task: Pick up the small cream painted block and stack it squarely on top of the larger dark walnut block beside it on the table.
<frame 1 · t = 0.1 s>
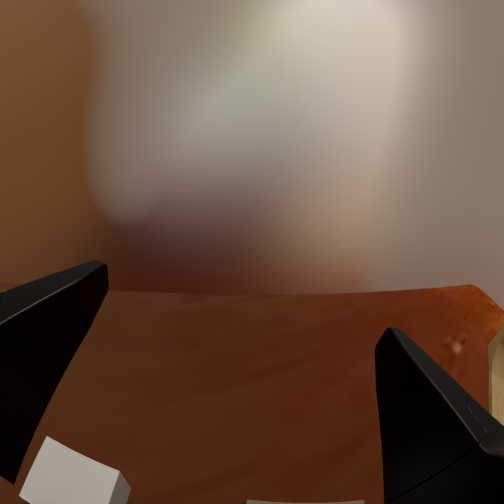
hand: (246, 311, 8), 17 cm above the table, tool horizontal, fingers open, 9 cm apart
cream block: (89, 501, 11), on the table
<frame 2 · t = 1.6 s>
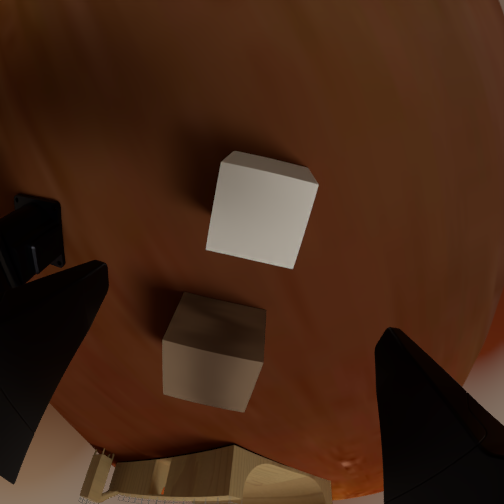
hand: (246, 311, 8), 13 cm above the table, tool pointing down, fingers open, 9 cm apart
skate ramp: (205, 474, 47), on the table
cream block: (262, 193, 20), on the table
walnut block: (219, 330, 25), on the table
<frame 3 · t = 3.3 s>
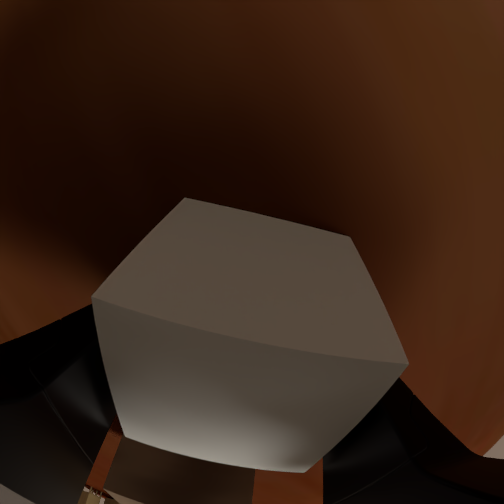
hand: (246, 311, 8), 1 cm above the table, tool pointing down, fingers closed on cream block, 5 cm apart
cream block: (250, 287, 9), on the table, touching gripper
walnut block: (193, 440, 15), on the table
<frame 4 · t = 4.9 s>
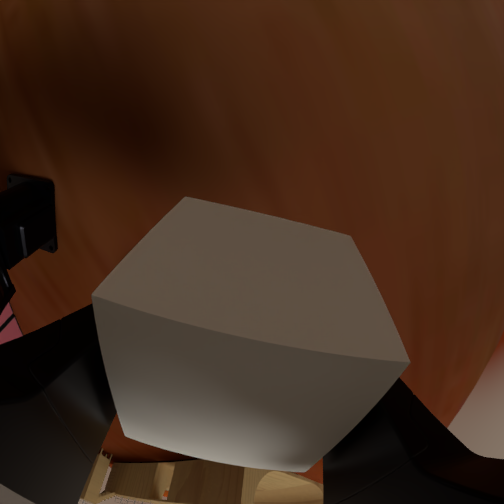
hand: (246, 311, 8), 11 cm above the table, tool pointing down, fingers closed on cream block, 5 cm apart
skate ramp: (206, 478, 45), on the table
cream block: (250, 286, 9), point 10 cm above the table, touching gripper
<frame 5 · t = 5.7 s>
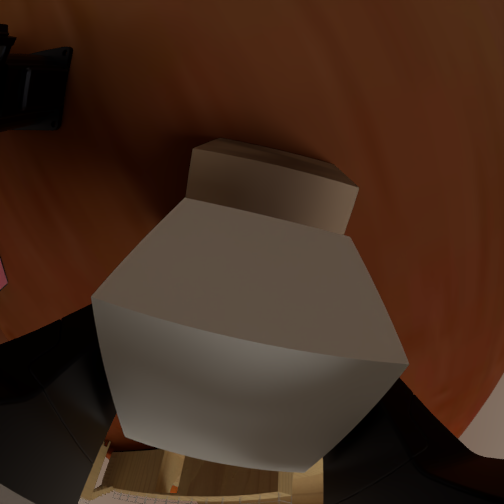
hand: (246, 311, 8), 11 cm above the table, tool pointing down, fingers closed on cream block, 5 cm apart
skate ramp: (221, 468, 40), on the table
cream block: (250, 287, 9), point 10 cm above the table, touching gripper
walnut block: (264, 203, 18), on the table
when the fingers open (8 cm above the table, at t = 6.5 s): cream block drops 1 cm, resting on walnut block.
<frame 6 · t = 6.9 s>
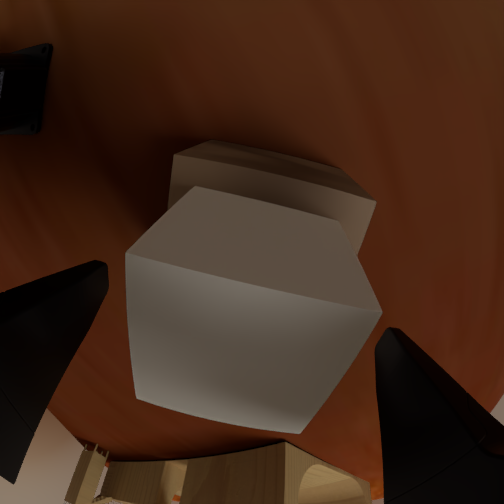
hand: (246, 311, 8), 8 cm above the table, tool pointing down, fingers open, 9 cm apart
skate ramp: (222, 479, 38), on the table
cream block: (251, 266, 11), point 6 cm above the table, touching walnut block
walnut block: (263, 213, 16), on the table, touching cream block
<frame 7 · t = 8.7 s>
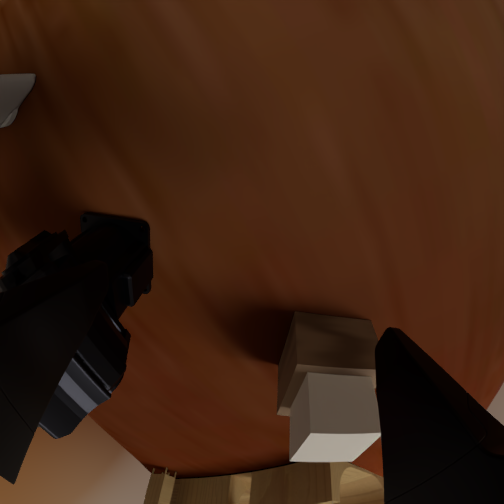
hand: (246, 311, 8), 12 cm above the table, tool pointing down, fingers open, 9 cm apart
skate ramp: (272, 483, 47), on the table
cream block: (329, 394, 20), point 6 cm above the table
walnut block: (322, 344, 25), on the table
tall pale column: (9, 106, 17), on the table
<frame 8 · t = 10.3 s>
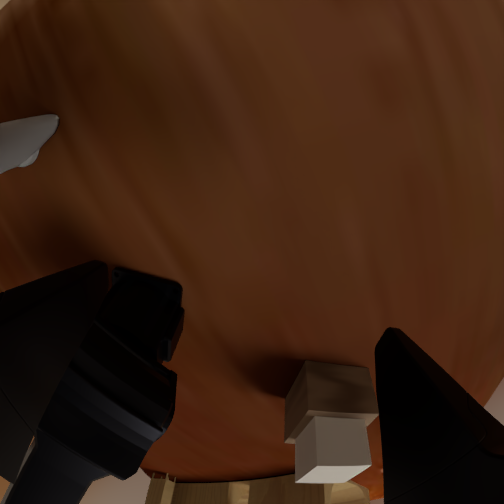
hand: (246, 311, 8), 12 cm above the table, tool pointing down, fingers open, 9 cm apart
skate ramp: (264, 490, 50), on the table
cream block: (329, 430, 23), point 6 cm above the table
walnut block: (325, 384, 28), on the table
tall pale column: (28, 143, 19), on the table
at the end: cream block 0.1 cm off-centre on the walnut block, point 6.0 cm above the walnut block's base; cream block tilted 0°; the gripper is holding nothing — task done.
